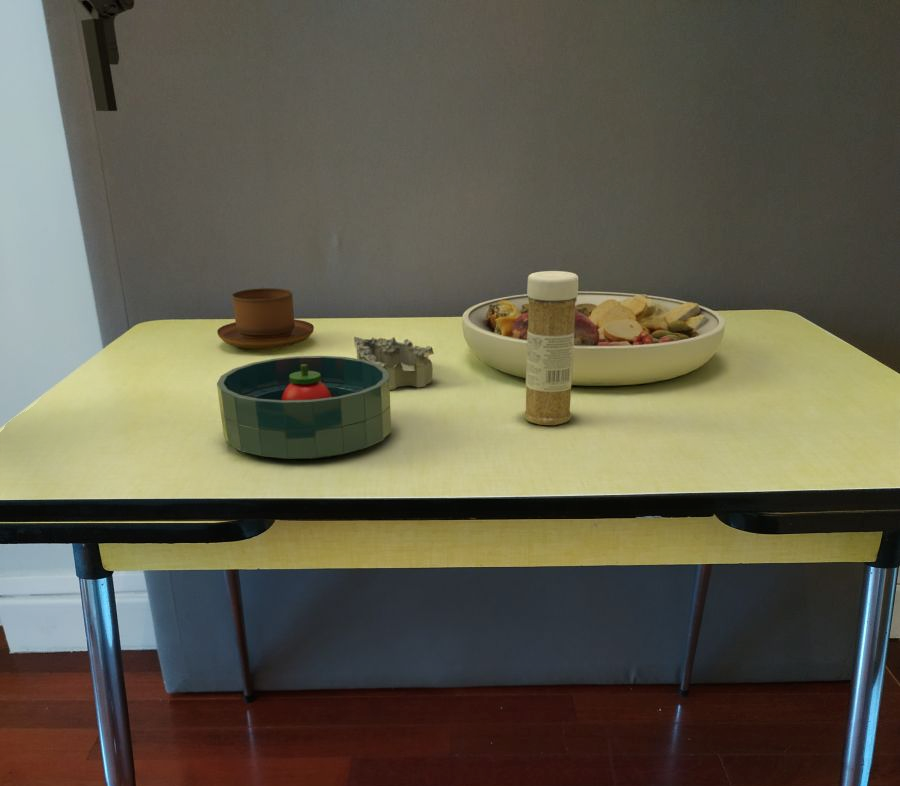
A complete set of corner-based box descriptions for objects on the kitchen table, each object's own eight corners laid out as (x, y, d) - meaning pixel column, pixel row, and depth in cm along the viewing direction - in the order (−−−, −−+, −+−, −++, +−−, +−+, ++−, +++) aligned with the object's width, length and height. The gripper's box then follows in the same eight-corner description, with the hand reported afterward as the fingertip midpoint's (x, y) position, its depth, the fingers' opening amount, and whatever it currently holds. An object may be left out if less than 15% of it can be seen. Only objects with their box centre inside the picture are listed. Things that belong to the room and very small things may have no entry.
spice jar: (566, 411, 90) (574, 269, 83) (574, 426, 86) (582, 278, 79) (520, 412, 90) (525, 269, 83) (525, 427, 86) (530, 278, 79)
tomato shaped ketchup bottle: (301, 441, 81) (295, 374, 78) (275, 428, 84) (268, 364, 81) (344, 430, 84) (339, 365, 81) (317, 418, 87) (312, 355, 84)
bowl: (494, 324, 124) (495, 264, 120) (722, 337, 117) (730, 273, 113) (431, 384, 99) (429, 309, 95) (715, 404, 92) (727, 325, 88)
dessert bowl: (279, 478, 75) (273, 413, 72) (196, 433, 85) (188, 374, 82) (424, 438, 83) (423, 379, 81) (333, 401, 94) (329, 347, 91)
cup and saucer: (214, 337, 119) (208, 288, 116) (305, 330, 122) (301, 282, 119) (224, 359, 109) (217, 306, 106) (323, 351, 112) (319, 299, 109)
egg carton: (437, 387, 98) (437, 349, 96) (368, 393, 96) (366, 354, 94) (416, 362, 107) (415, 327, 105) (353, 366, 105) (351, 331, 103)
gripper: (-260, -295, 53) (-143, 115, 64) (147, -216, 67) (188, 110, 77) (-273, -261, 58) (-163, 114, 69) (108, -194, 72) (152, 109, 83)
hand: (24, 112), depth 73 cm, fingers open, 13 cm apart
